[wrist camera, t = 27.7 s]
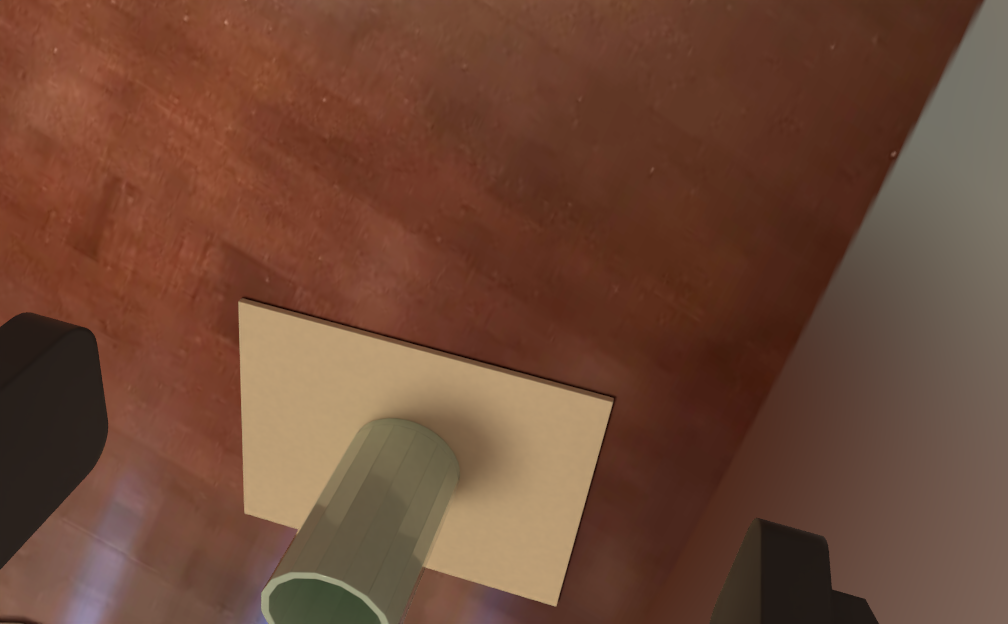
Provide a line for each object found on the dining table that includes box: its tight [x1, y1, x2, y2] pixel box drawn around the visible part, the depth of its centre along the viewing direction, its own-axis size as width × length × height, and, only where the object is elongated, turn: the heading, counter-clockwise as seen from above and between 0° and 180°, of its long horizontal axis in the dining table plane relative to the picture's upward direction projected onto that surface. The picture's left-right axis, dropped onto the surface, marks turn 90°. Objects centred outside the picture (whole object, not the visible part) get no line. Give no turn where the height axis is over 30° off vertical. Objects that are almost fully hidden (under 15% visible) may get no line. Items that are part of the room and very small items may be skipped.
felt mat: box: [238, 298, 614, 606], centre depth 50 cm, size 20×16×1 cm
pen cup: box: [261, 418, 460, 624], centre depth 45 cm, size 6×6×11 cm
